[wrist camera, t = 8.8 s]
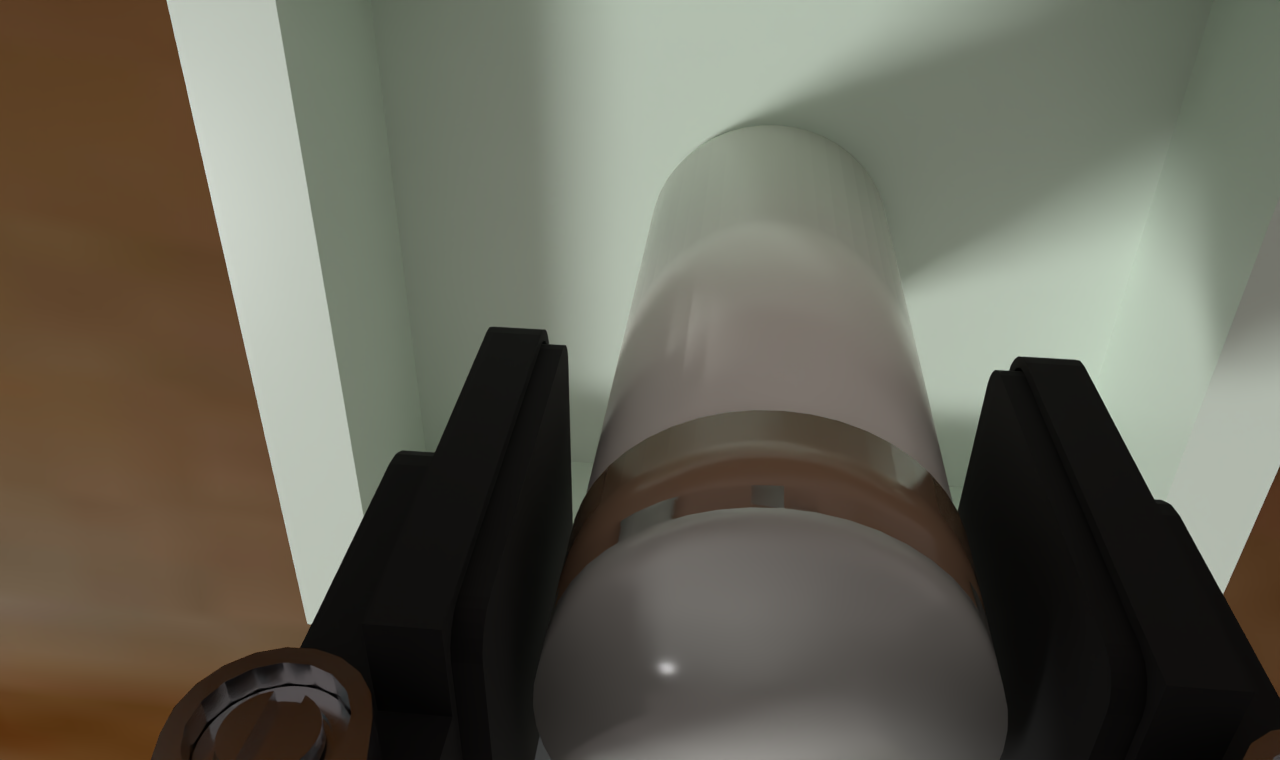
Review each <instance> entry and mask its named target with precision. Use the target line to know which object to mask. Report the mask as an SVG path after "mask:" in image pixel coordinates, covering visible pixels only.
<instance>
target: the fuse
mask: <svg viewBox="0 0 1280 760" xmlns="http://www.w3.org/2000/svg"><path fill="white" fill-rule="evenodd" d="M533 708H534V714H535V721H536V726H537V729H538V732H539V735H540V737H541V740H542V743H543V746H544V747H545V749H546V751H547V753H548V755H549V757H550V758H551V760H1000V757H1001V755H1002V753H1003V749H1004V745H1005V740H1006V735H1007V731H1008V708H1007V703H1006V698H1005V693H1004V688H1003V683H1002V679H1001V675H1000V671H999V667H998V663H997V659H996V654H995V650H994V646H993V642H992V638H991V634H990V630H989V625H988V621H987V617H986V613H985V609H984V605H983V601H982V596H981V592H980V588H979V584H978V580H977V576H976V572H975V567H974V563H973V559H972V555H971V551H970V547H969V543H968V538H967V534H966V531H965V528H964V526H963V523H962V521H961V518H960V515H959V513H958V511H957V509H956V507H955V506H954V504H953V502H952V497H951V493H950V489H949V485H948V480H947V476H946V472H945V467H944V463H943V459H942V455H941V450H940V446H939V442H938V437H937V433H936V429H935V425H934V420H933V416H932V412H931V407H930V403H929V399H928V395H927V390H926V386H925V382H924V377H923V373H922V369H921V365H920V360H919V356H918V352H917V347H916V343H915V339H914V335H913V330H912V326H911V322H910V317H909V313H908V309H907V305H906V300H905V296H904V292H903V287H902V283H901V279H900V275H899V270H898V266H897V262H896V257H895V253H894V249H893V245H892V240H891V236H890V232H889V227H888V223H887V219H886V215H885V210H884V206H883V202H882V200H881V197H880V194H879V192H878V189H877V187H876V185H875V184H874V182H873V180H872V178H871V176H870V175H869V174H868V172H867V171H866V170H865V169H864V167H863V166H862V165H861V164H860V163H859V162H858V161H857V160H856V159H855V158H854V157H853V156H852V155H851V154H850V153H849V152H848V151H846V150H845V149H844V148H842V147H841V146H840V145H838V144H836V143H835V142H833V141H831V140H829V139H827V138H826V137H824V136H821V135H819V134H816V133H813V132H811V131H808V130H804V129H800V128H796V127H789V126H781V125H760V126H753V127H745V128H741V129H738V130H734V131H730V132H727V133H725V134H723V135H720V136H718V137H715V138H713V139H712V140H710V141H708V142H706V143H705V144H703V145H701V146H700V147H698V148H697V149H696V150H694V151H693V152H692V153H690V154H689V155H688V156H687V157H686V158H685V159H684V160H683V161H682V162H681V163H680V164H679V165H678V166H677V167H676V168H675V170H674V171H673V172H672V173H671V175H670V176H669V177H668V179H667V181H666V182H665V184H664V186H663V188H662V189H661V191H660V194H659V196H658V199H657V201H656V204H655V208H654V212H653V216H652V220H651V224H650V229H649V233H648V237H647V241H646V245H645V250H644V254H643V258H642V262H641V266H640V270H639V275H638V279H637V283H636V287H635V291H634V296H633V300H632V304H631V308H630V312H629V317H628V321H627V325H626V329H625V333H624V338H623V342H622V346H621V350H620V354H619V359H618V363H617V367H616V371H615V375H614V380H613V384H612V388H611V392H610V396H609V401H608V405H607V409H606V413H605V417H604V421H603V426H602V430H601V434H600V438H599V442H598V447H597V451H596V455H595V459H594V463H593V468H592V472H591V476H590V480H589V484H588V489H587V493H586V496H585V497H584V499H583V500H582V502H581V505H580V507H579V509H578V512H577V514H576V517H575V519H574V523H573V527H572V531H571V535H570V539H569V543H568V547H567V551H566V555H565V559H564V563H563V567H562V571H561V575H560V580H559V584H558V588H557V592H556V596H555V600H554V604H553V608H552V612H551V616H550V620H549V624H548V628H547V632H546V636H545V641H544V645H543V649H542V653H541V657H540V661H539V665H538V669H537V674H536V678H535V682H534V693H533Z"/></svg>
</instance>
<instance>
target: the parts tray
mask: <svg viewBox="0 0 1280 760" xmlns="http://www.w3.org/2000/svg"><path fill="white" fill-rule="evenodd" d="M167 4H168V8H169V13H170V17H171V22H172V26H173V30H174V35H175V39H176V44H177V48H178V53H179V57H180V61H181V66H182V70H183V75H184V79H185V84H186V88H187V93H188V97H189V101H190V106H191V110H192V115H193V119H194V124H195V128H196V132H197V137H198V141H199V146H200V150H201V155H202V159H203V163H204V168H205V172H206V177H207V181H208V186H209V190H210V194H211V199H212V203H213V208H214V212H215V217H216V221H217V225H218V230H219V234H220V239H221V243H222V248H223V252H224V256H225V261H226V265H227V270H228V274H229V279H230V283H231V287H232V292H233V296H234V301H235V305H236V310H237V314H238V318H239V323H240V327H241V332H242V336H243V341H244V345H245V349H246V354H247V358H248V363H249V367H250V372H251V376H252V380H253V385H254V389H255V394H256V398H257V403H258V407H259V411H260V416H261V420H262V425H263V429H264V434H265V438H266V442H267V447H268V451H269V456H270V460H271V465H272V469H273V473H274V478H275V482H276V487H277V491H278V496H279V500H280V504H281V509H282V513H283V518H284V522H285V527H286V531H287V536H288V540H289V544H290V549H291V553H292V558H293V562H294V567H295V571H296V575H297V580H298V584H299V589H300V593H301V598H302V602H303V606H304V611H305V615H306V620H307V624H312V622H313V620H314V618H315V616H316V614H317V612H318V610H319V608H320V606H321V604H322V602H323V600H324V598H325V596H326V593H327V591H328V589H329V587H330V585H331V583H332V581H333V579H334V577H335V575H336V573H337V571H338V569H339V567H340V565H341V562H342V560H343V558H344V556H345V554H346V552H347V550H348V548H349V546H350V544H351V542H352V540H353V538H354V536H355V533H356V531H357V529H358V527H359V525H360V523H361V521H362V519H363V517H364V515H365V513H366V511H367V509H368V507H369V505H370V502H371V500H372V498H373V496H374V494H375V492H376V490H377V488H378V486H379V484H380V482H381V480H382V478H383V476H384V473H385V471H386V469H387V467H388V465H389V463H390V462H391V460H392V459H393V457H394V456H395V454H396V453H398V452H400V451H402V450H405V451H420V452H435V451H436V449H437V446H438V444H439V442H440V439H441V437H442V435H443V432H444V430H445V428H446V425H447V423H448V421H449V418H450V416H451V414H452V411H453V409H454V407H455V404H456V402H457V400H458V397H459V395H460V393H461V390H462V388H463V386H464V383H465V381H466V379H467V376H468V374H469V372H470V369H471V367H472V365H473V362H474V360H475V358H476V355H477V353H478V351H479V348H480V346H481V344H482V341H483V339H484V337H485V334H486V332H487V330H488V329H489V327H510V328H528V329H545V330H546V331H547V334H548V339H549V344H555V345H566V347H567V351H568V366H569V402H570V438H571V475H572V511H573V523H574V519H575V517H576V514H577V512H578V509H579V507H580V505H581V502H582V500H583V499H584V497H585V496H586V493H587V489H588V484H589V480H590V476H591V472H592V468H593V463H594V459H595V455H596V451H597V447H598V442H599V438H600V434H601V430H602V426H603V421H604V417H605V413H606V409H607V405H608V401H609V396H610V392H611V388H612V384H613V380H614V375H615V371H616V367H617V363H618V359H619V354H620V350H621V346H622V342H623V338H624V333H625V329H626V325H627V321H628V317H629V312H630V308H631V304H632V300H633V296H634V291H635V287H636V283H637V279H638V275H639V270H640V266H641V262H642V258H643V254H644V250H645V245H646V241H647V237H648V233H649V229H650V224H651V220H652V216H653V212H654V208H655V204H656V201H657V199H658V196H659V194H660V191H661V189H662V188H663V186H664V184H665V182H666V181H667V179H668V177H669V176H670V175H671V173H672V172H673V171H674V170H675V168H676V167H677V166H678V165H679V164H680V163H681V162H682V161H683V160H684V159H685V158H686V157H687V156H688V155H689V154H690V153H692V152H693V151H694V150H696V149H697V148H698V147H700V146H701V145H703V144H705V143H706V142H708V141H710V140H712V139H713V138H715V137H718V136H720V135H723V134H725V133H727V132H730V131H734V130H738V129H741V128H745V127H753V126H760V125H781V126H789V127H796V128H800V129H804V130H808V131H811V132H813V133H816V134H819V135H821V136H824V137H826V138H827V139H829V140H831V141H833V142H835V143H836V144H838V145H840V146H841V147H842V148H844V149H845V150H846V151H848V152H849V153H850V154H851V155H852V156H853V157H854V158H855V159H856V160H857V161H858V162H859V163H860V164H861V165H862V166H863V167H864V169H865V170H866V171H867V172H868V174H869V175H870V176H871V178H872V180H873V182H874V184H875V185H876V187H877V189H878V192H879V194H880V197H881V200H882V202H883V206H884V210H885V215H886V219H887V223H888V227H889V232H890V236H891V240H892V245H893V249H894V253H895V257H896V262H897V266H898V270H899V275H900V279H901V283H902V287H903V292H904V296H905V300H906V305H907V309H908V313H909V317H910V322H911V326H912V330H913V335H914V339H915V343H916V347H917V352H918V356H919V360H920V365H921V369H922V373H923V377H924V382H925V386H926V390H927V395H928V399H929V403H930V407H931V412H932V416H933V420H934V425H935V429H936V433H937V437H938V442H939V446H940V450H941V455H942V459H943V463H944V467H945V472H946V476H947V480H948V485H949V489H950V493H951V497H952V502H953V504H954V506H955V507H956V509H957V511H958V507H959V503H960V499H961V494H962V490H963V486H964V482H965V477H966V473H967V469H968V465H969V460H970V456H971V452H972V448H973V443H974V439H975V435H976V431H977V426H978V422H979V418H980V414H981V409H982V405H983V401H984V397H985V392H986V388H987V384H988V381H989V378H990V376H991V374H992V372H993V371H994V370H1006V371H1009V369H1010V366H1011V364H1012V363H1013V361H1014V359H1016V358H1017V357H1018V356H1021V357H1039V358H1057V359H1074V360H1079V361H1081V362H1082V364H1083V365H1084V366H1085V368H1086V370H1087V372H1088V374H1089V376H1090V378H1091V379H1092V381H1093V383H1094V385H1095V387H1096V389H1097V391H1098V393H1099V395H1100V397H1101V399H1102V400H1103V402H1104V404H1105V406H1106V408H1107V410H1108V412H1109V414H1110V416H1111V418H1112V420H1113V421H1114V423H1115V425H1116V427H1117V429H1118V431H1119V433H1120V435H1121V437H1122V439H1123V441H1124V442H1125V444H1126V446H1127V448H1128V450H1129V452H1130V454H1131V456H1132V458H1133V460H1134V461H1135V463H1136V465H1137V467H1138V469H1139V471H1140V473H1141V475H1142V477H1143V479H1144V481H1145V482H1146V484H1147V486H1148V488H1149V490H1150V492H1151V494H1152V496H1153V498H1154V499H1156V500H1163V501H1165V502H1167V503H1169V504H1171V505H1172V506H1173V507H1174V509H1175V510H1176V511H1177V513H1178V514H1179V515H1180V517H1181V519H1182V520H1183V522H1184V524H1185V526H1186V528H1187V530H1188V531H1189V533H1190V535H1191V537H1192V539H1193V541H1194V542H1195V544H1196V546H1197V548H1198V550H1199V552H1200V553H1201V555H1202V557H1203V559H1204V561H1205V563H1206V564H1207V566H1208V568H1209V570H1210V572H1211V574H1212V575H1213V577H1214V579H1215V581H1216V583H1217V585H1218V586H1219V588H1220V590H1221V592H1222V594H1223V593H1224V591H1225V589H1226V586H1227V584H1228V582H1229V580H1230V577H1231V575H1232V573H1233V570H1234V568H1235V566H1236V564H1237V561H1238V559H1239V557H1240V555H1241V552H1242V550H1243V548H1244V546H1245V543H1246V541H1247V539H1248V536H1249V534H1250V532H1251V530H1252V527H1253V525H1254V523H1255V521H1256V518H1257V516H1258V514H1259V512H1260V509H1261V507H1262V505H1263V503H1264V500H1265V498H1266V496H1267V493H1268V491H1269V489H1270V487H1271V484H1272V482H1273V480H1274V478H1275V475H1276V473H1277V471H1278V469H1279V466H1280V0H167Z"/></svg>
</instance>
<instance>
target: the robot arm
mask: <svg viewBox="0 0 1280 760" xmlns="http://www.w3.org/2000/svg"><path fill="white" fill-rule="evenodd" d="M958 513H959V515H960V518H961V521H962V523H963V526H964V528H965V531H966V534H967V538H968V543H969V547H970V551H971V555H972V559H973V563H974V567H975V572H976V576H977V580H978V584H979V588H980V592H981V596H982V601H983V605H984V609H985V613H986V617H987V621H988V625H989V630H990V634H991V638H992V642H993V646H994V650H995V654H996V659H997V663H998V667H999V671H1000V675H1001V679H1002V683H1003V688H1004V693H1005V698H1006V703H1007V708H1008V731H1007V735H1006V740H1005V745H1004V749H1003V753H1002V755H1001V757H1000V760H1280V698H1279V696H1278V695H1277V693H1276V691H1275V689H1274V687H1273V685H1272V684H1271V682H1270V680H1269V678H1268V676H1267V674H1266V673H1265V671H1264V669H1263V667H1262V665H1261V663H1260V662H1259V660H1258V658H1257V656H1256V654H1255V652H1254V651H1253V649H1252V647H1251V645H1250V643H1249V641H1248V640H1247V638H1246V636H1245V634H1244V632H1243V630H1242V629H1241V627H1240V625H1239V623H1238V621H1237V619H1236V618H1235V616H1234V614H1233V612H1232V610H1231V608H1230V607H1229V605H1228V603H1227V601H1226V599H1225V597H1224V596H1223V594H1222V592H1221V590H1220V588H1219V586H1218V585H1217V583H1216V581H1215V579H1214V577H1213V575H1212V574H1211V572H1210V570H1209V568H1208V566H1207V564H1206V563H1205V561H1204V559H1203V557H1202V555H1201V553H1200V552H1199V550H1198V548H1197V546H1196V544H1195V542H1194V541H1193V539H1192V537H1191V535H1190V533H1189V531H1188V530H1187V528H1186V526H1185V524H1184V522H1183V520H1182V519H1181V517H1180V515H1179V514H1178V513H1177V511H1176V510H1175V509H1174V507H1173V506H1172V505H1171V504H1169V503H1167V502H1165V501H1163V500H1156V499H1154V498H1153V496H1152V494H1151V492H1150V490H1149V488H1148V486H1147V484H1146V482H1145V481H1144V479H1143V477H1142V475H1141V473H1140V471H1139V469H1138V467H1137V465H1136V463H1135V461H1134V460H1133V458H1132V456H1131V454H1130V452H1129V450H1128V448H1127V446H1126V444H1125V442H1124V441H1123V439H1122V437H1121V435H1120V433H1119V431H1118V429H1117V427H1116V425H1115V423H1114V421H1113V420H1112V418H1111V416H1110V414H1109V412H1108V410H1107V408H1106V406H1105V404H1104V402H1103V400H1102V399H1101V397H1100V395H1099V393H1098V391H1097V389H1096V387H1095V385H1094V383H1093V381H1092V379H1091V378H1090V376H1089V374H1088V372H1087V370H1086V368H1085V366H1084V365H1083V364H1082V362H1081V361H1079V360H1074V359H1057V358H1039V357H1021V356H1018V357H1017V358H1016V359H1014V361H1013V363H1012V364H1011V366H1010V369H1009V371H1006V370H994V371H993V372H992V374H991V376H990V378H989V381H988V384H987V388H986V392H985V397H984V401H983V405H982V409H981V414H980V418H979V422H978V426H977V431H976V435H975V439H974V443H973V448H972V452H971V456H970V460H969V465H968V469H967V473H966V477H965V482H964V486H963V490H962V494H961V499H960V503H959V507H958ZM572 527H573V511H572V475H571V438H570V402H569V366H568V351H567V347H566V345H555V344H549V339H548V334H547V331H546V330H545V329H528V328H510V327H489V329H488V330H487V332H486V334H485V337H484V339H483V341H482V344H481V346H480V348H479V351H478V353H477V355H476V358H475V360H474V362H473V365H472V367H471V369H470V372H469V374H468V376H467V379H466V381H465V383H464V386H463V388H462V390H461V393H460V395H459V397H458V400H457V402H456V404H455V407H454V409H453V411H452V414H451V416H450V418H449V421H448V423H447V425H446V428H445V430H444V432H443V435H442V437H441V439H440V442H439V444H438V446H437V449H436V451H435V452H420V451H405V450H402V451H400V452H398V453H396V454H395V456H394V457H393V459H392V460H391V462H390V463H389V465H388V467H387V469H386V471H385V473H384V476H383V478H382V480H381V482H380V484H379V486H378V488H377V490H376V492H375V494H374V496H373V498H372V500H371V502H370V505H369V507H368V509H367V511H366V513H365V515H364V517H363V519H362V521H361V523H360V525H359V527H358V529H357V531H356V533H355V536H354V538H353V540H352V542H351V544H350V546H349V548H348V550H347V552H346V554H345V556H344V558H343V560H342V562H341V565H340V567H339V569H338V571H337V573H336V575H335V577H334V579H333V581H332V583H331V585H330V587H329V589H328V591H327V593H326V596H325V598H324V600H323V602H322V604H321V606H320V608H319V610H318V612H317V614H316V616H315V618H314V620H313V622H312V624H311V627H310V629H309V631H308V633H307V635H306V637H305V639H304V641H303V643H302V645H301V647H300V648H290V647H285V648H280V649H274V650H268V651H263V652H257V653H253V654H251V655H249V656H246V657H244V658H241V659H239V660H236V661H234V662H231V663H229V664H226V665H224V666H222V667H221V668H219V669H218V670H216V671H215V672H213V673H212V674H210V675H209V676H207V677H206V678H204V679H203V680H201V681H200V682H198V683H197V684H196V685H195V686H194V687H193V688H192V689H191V690H190V691H189V692H188V693H187V694H186V695H185V696H184V697H183V698H182V699H181V700H180V701H179V703H178V704H177V705H176V706H175V707H174V708H173V710H172V712H171V714H170V716H169V718H168V719H167V721H166V723H165V725H164V727H163V729H162V731H161V732H160V735H159V738H158V741H157V744H156V746H155V749H154V752H153V755H152V758H151V760H535V756H536V751H537V746H538V741H539V736H540V735H539V732H538V729H537V726H536V721H535V714H534V708H533V693H534V682H535V678H536V674H537V669H538V665H539V661H540V657H541V653H542V649H543V645H544V641H545V636H546V632H547V628H548V624H549V620H550V616H551V612H552V608H553V604H554V600H555V596H556V592H557V588H558V584H559V580H560V575H561V571H562V567H563V563H564V559H565V555H566V551H567V547H568V543H569V539H570V535H571V531H572Z"/></svg>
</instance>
